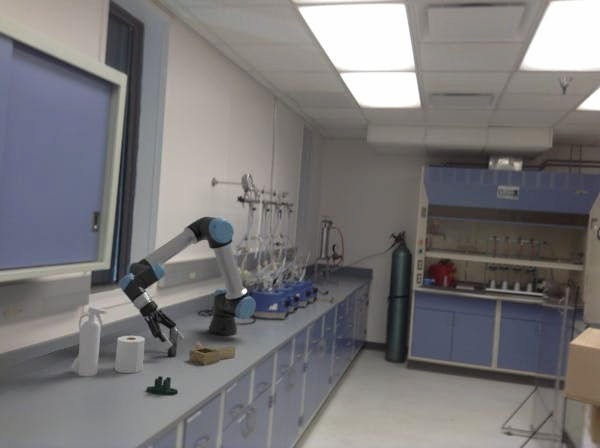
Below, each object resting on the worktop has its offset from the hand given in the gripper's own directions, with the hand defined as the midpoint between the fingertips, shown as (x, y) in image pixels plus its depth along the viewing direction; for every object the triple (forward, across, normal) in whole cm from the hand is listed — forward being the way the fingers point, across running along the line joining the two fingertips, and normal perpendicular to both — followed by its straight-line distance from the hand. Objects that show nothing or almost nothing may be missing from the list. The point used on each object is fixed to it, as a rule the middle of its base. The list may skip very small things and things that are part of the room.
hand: (176, 343), depth 228 cm
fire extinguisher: (-11, +34, -19) cm, 41 cm away
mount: (+12, +43, +4) cm, 45 cm away
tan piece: (+13, -5, +5) cm, 15 cm away
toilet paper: (-3, +24, -11) cm, 27 cm away
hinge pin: (+3, 0, -5) cm, 6 cm away
